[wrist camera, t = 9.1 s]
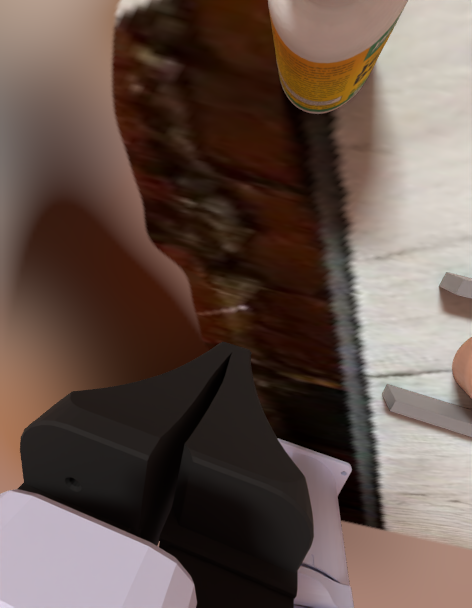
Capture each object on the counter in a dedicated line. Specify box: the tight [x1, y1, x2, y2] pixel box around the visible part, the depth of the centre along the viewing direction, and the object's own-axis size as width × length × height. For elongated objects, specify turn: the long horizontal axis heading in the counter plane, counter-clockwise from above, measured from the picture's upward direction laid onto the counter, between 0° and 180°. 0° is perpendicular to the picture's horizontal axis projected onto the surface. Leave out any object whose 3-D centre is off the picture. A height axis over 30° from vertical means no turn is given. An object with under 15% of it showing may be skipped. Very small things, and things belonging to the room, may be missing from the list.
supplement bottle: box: [268, 0, 408, 114], centre depth 11 cm, size 5×5×10 cm
